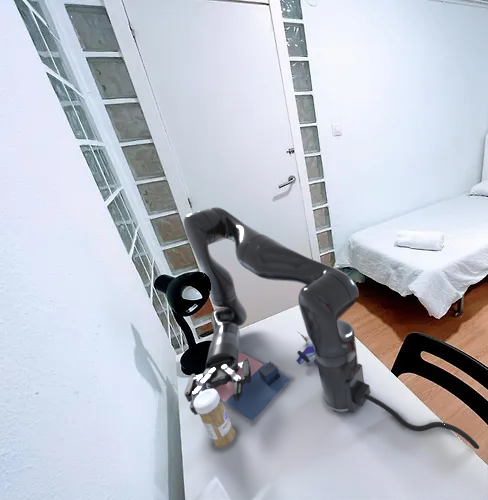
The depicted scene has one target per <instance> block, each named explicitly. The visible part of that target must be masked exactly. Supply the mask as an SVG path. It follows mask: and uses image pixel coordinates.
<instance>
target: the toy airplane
mask: <svg viewBox="0 0 488 500" xmlns="http://www.w3.org/2000/svg"><path fill="white" fill-rule="evenodd" d="M297 333H298V334H300V336H301V337H302V338H303V340H304V341H305V346H306V347H305V348H304V349H303V351H301V350H297V352H296V353H297V355H298V357H297V359H296V360H295V361H296V362H297V364H298V365H301V364H303V363H304V362H305V363H310V362H311V361H310V359H309V358H311V357H312V356H315V352H314V347H313V344H312V342H311V340H310V338H309V336H308V335H303V334H301V333H300V332H298V331H297ZM313 363H314V364H315V365H317V361H316V358H315V359H314V360H313Z"/></svg>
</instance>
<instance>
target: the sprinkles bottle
mask: <svg viewBox="0 0 488 500" xmlns="http://www.w3.org/2000/svg"><path fill="white" fill-rule="evenodd" d="M201 391H202V390H201ZM201 391H200V392H201ZM200 392H199V393H200ZM221 401H222V400H221V399H220V397H219V394H218V392H217V391H216V390H215V389H207V390H204V391H202V392H201V393H200V394H199V395H198V396H197V397H196V398H195V400H194V404H193V405H194V408H195V410H196V412H197V413H198V414H197V415H199V417H200V419H201V422H202V424H203V425H204V427H205V429H206V431H207V433H208V435H209V437H210V438H211V440H212V441H213V445H214V447H216V448H219V449H222V448H225V447H226V446H228V445H229V444H230V443H231V442H232V441H233V440H234V438H235V435H236V430H235V428H234V427H233V425H232V423H231V419H230V417H229V416H228V413H227V411H226V410H225V407H224V406H223V403H222V402H221Z"/></svg>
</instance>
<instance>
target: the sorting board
mask: <svg viewBox="0 0 488 500" xmlns="http://www.w3.org/2000/svg"><path fill="white" fill-rule="evenodd" d="M245 358H248V360H249V363H250V367H251V382H250V383H245V384H244V385H243V389H242V396H241V397H240V398H239V401H235V399H234V396H233V393H234V384H232V383H231V382H230V381H229V382H228V383H227V384H225V385H220V386H218V387H217V388H216V389H215V390H216V391H217V392H218V394H219V397H220V401H223V402H224V403H225V404H227V405H228V406H230V407H231V408H232V409H234V410H236V411H237V412H239V413H240V414H242V415H243V416H245V417H246V418H247V419H249V420H250V421H252V422H253V421H255V419H256V418H257V417H258V416H259V415H260V414H261V413H262V412H263V411H264V410H265V408H267V406H268V405H269V404H270V403H271V401H272V400H273V399H274V398H275V397H276V396H277V395H278V394H279V393H280V391H281V390H282V389H283V388H284V387H285V386H286V384H288V382H290V380H291V377H289V376H288V375H286V374H284V373H282V372H280V371H279V375H280V377H279V378H278V379H277V380H276V381H275V382H273V383H272V384H271V385H270V386H268V385H267V384H266V383H265V382H264V381H263V380H262V379H261V376H260V373H259V371H258V370H259V369H260V368H261V367H263V366H264V365H265V364H264V363H262V362H260V361H258V360H256V359H254V358H252V357H250V356H249V355H247V354H244V353H243V352H241V351H239V354H238V363H241V362H243V360H244V359H245ZM236 374H237V375H239V376H240V377H241V376H243V370H242V369H239V371H238V372H237V373H236Z"/></svg>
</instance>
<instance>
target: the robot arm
mask: <svg viewBox="0 0 488 500" xmlns="http://www.w3.org/2000/svg"><path fill="white" fill-rule="evenodd" d="M183 228H184V232H185V235H186V237H187V241H188V242H189V244H190V247H191V249H192V251H193V254H194V256H195V259H196V260H197V263H198V265H199V267H200V269H201V271H202V273H203V274H204V273H205V274H206V275H207V276H208V277H209V279H210V282H211V291H209V295H210V299H211V302H212V304H213V305H214V306H215V307H217V308H215V309H214V310H213V311H212V312H211V314H210V322H211V326H212V329H213V335H212V338H211V339H212V340H211V342H210V345H209V348H208V353H207V358H206V363H205V369H204V371H203V372H202V374H199V375H197V374H196V373H192V374H191V375H189V378H188V381H187V384H186V387H185V390H184V393H183V394H184V397H185V398H186V401H187V402H188V403H190V404H189V409H190V411H191V414H193V415H194V416H196V415H199V414H198V413H197V412H196V410H195V408H194V405H193V404H194V400H195V398H196V397H197V396H198V395H199V394H200V393H201V392H202V391H204V390H207V389H212V388H213V387H214V388H215V387H218V386H220V385H225V384H227V383H228V382H229V381H230V382H231V383H232V384H234V393H233V396H234V399H235V401H239V398H240V397H241V396H242V389H243V385H244V384H245V383H250V382H251V367H250V363H249V360H248V358H245V359H244V360H243V362H241V363H238V354H239V353H240V342H239V341H240V327H243V326H244V325H245V323H246V322H247V319H248V314H247V311H246V309H245V307H244V305H243V304H242V302H241V301H240V299H239V297H238V295H237V291H236V286H235V282H234V278H233V276H232V274H231V273H230V271H229V270H228V269H227V268H225V267H224V266H223V265H222V264H220V263H219V262H218V261H217V260H216V259H215V258H214V257H213V256H212V254H211V252H210V249H209V246H210V245H213V244H215V243H218V242H221V241H223V240H230V241H232V242H233V243H234V250H235V251H234V252H235V256H236V259H237V262H238V263H239V264H240V265H241V266H242V267H243V268H244V269H246V270H248V271H249V272H251V273H252V274H254V275H255V276H256V277H258V278H261V279H264V280H267V281H268V280H269V281H275V282H288V283H289V282H290V283H297V284H302V285H305V286H302V288H301V289H300V291H299V292H298V299H297V300H298V301H297V302H298V307H299V310H300V314H301V317H302V320H303V324H304V327H305V331H306V333H307V337H308V338H310V340H311V342H312V344H313V347H314V352H315V354H314V356H315V359H316V361H317V364H316V365H317V370H318V374H319V379H320V383H321V389H322V392H323V399H324V403H325V404H326V406H327V407H328V408H329V409H330V410H332V411H333V412H335V413H337V414H341V413H342V414H344V413H348V412H349V413H351V414H354V413H355V411H356V409H357V408H358V407H361V408H362V407H363V406H364V404H365V403H366V401H369V402H371V403H373V404H374V405H377V406H379V407H380V408H382V409H383V410H385V411H386V412H387V413H388V414H390V415H392V416H393V417H394V418H395V419H396V420H397V421H398V422H399V423H400V424H401V425H402V426H403V427H405V428H407V429H408V430H410V431H414V432H424V431H429V430H432V429H434V428H442V429H447V430H449V431H452V432H454V433H456V434H457V435H459V436H461V437H462V438H463V439H464V440H466V441H467V442H468V443H469V444H470V445H471V446H472V447H473V448H474V449H476V450H479V449H480V446H479V444H478V443H477V442H476V440H474V439H473V438H472V437H471V436H470V435H469V434H468V433H467V432H465V431H464V430H462V429H461V428H460V427H457V426H455V425H453V424H450V423H447V422H443V421H433V422H428V423H427V424H423V425H416V424H415V425H414V424H412V423H409V422H407V421H406V420H405V419H404V418H403V417H402V416H401V415H400V414H398V412H397V411H395V410H394V409H393V408H392V407H390V406H388V405H387V404H385V403H384V402H383V401H381V400H379V399H378V398H376V397H374V396H372V395H370V394H371V387H370V384H367V383H366V382H365V377H364V369H363V368H364V367H363V364H361V363H360V362H359V360H358V352H357V343H356V335H355V330H354V328H353V326H352V325H351V323H349V322H348V321H345V320H344V319H340V318H342V317H343V316H344V315H345V314H346V313H347V312H348V311H350V309H351V308H352V307H353V306H354V305H355V304H356V302H358V299H359V289H358V288H359V287H357V284H356V282H354V280H353V279H352V278H351V277H350V276H349V275H348V274H346V273H345V272H343V271H341V270H340V269H338V268H335V267H333V266H331V265H328V264H326V263H323V262H320V261H317V260H316V259H313V258H310V257H307V256H305V255H303V254H301V253H299V252H298V251H295V250H293V249H292V248H289V247H287V246H286V245H284V244H282V243H281V242H278V241H277V240H275V239H274V238H272V237H269V236H268V235H266V234H264V233H261V232H260V231H258V230H256V229H254V228H253V227H251V226H250V225H247V224H246V223H244V222H243V221H242V220H240V219H239V218H237V217H236V216H235V215H233V214H232V213H231V212H229V211H227V210H226V209H224V208H223V207H219V206H214V207H213V206H212V207H208V208H205V209H202V210H198V211H194V212H191V213H188V214H186V215H185V216H184V218H183ZM239 369H242V370H243V376H241V377H240V376H239V375H237V374H236V373H237V372H238V371H239ZM206 383H207V384H208V387H207V386H206ZM442 422H443V423H442ZM444 424H445V425H444Z"/></svg>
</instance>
